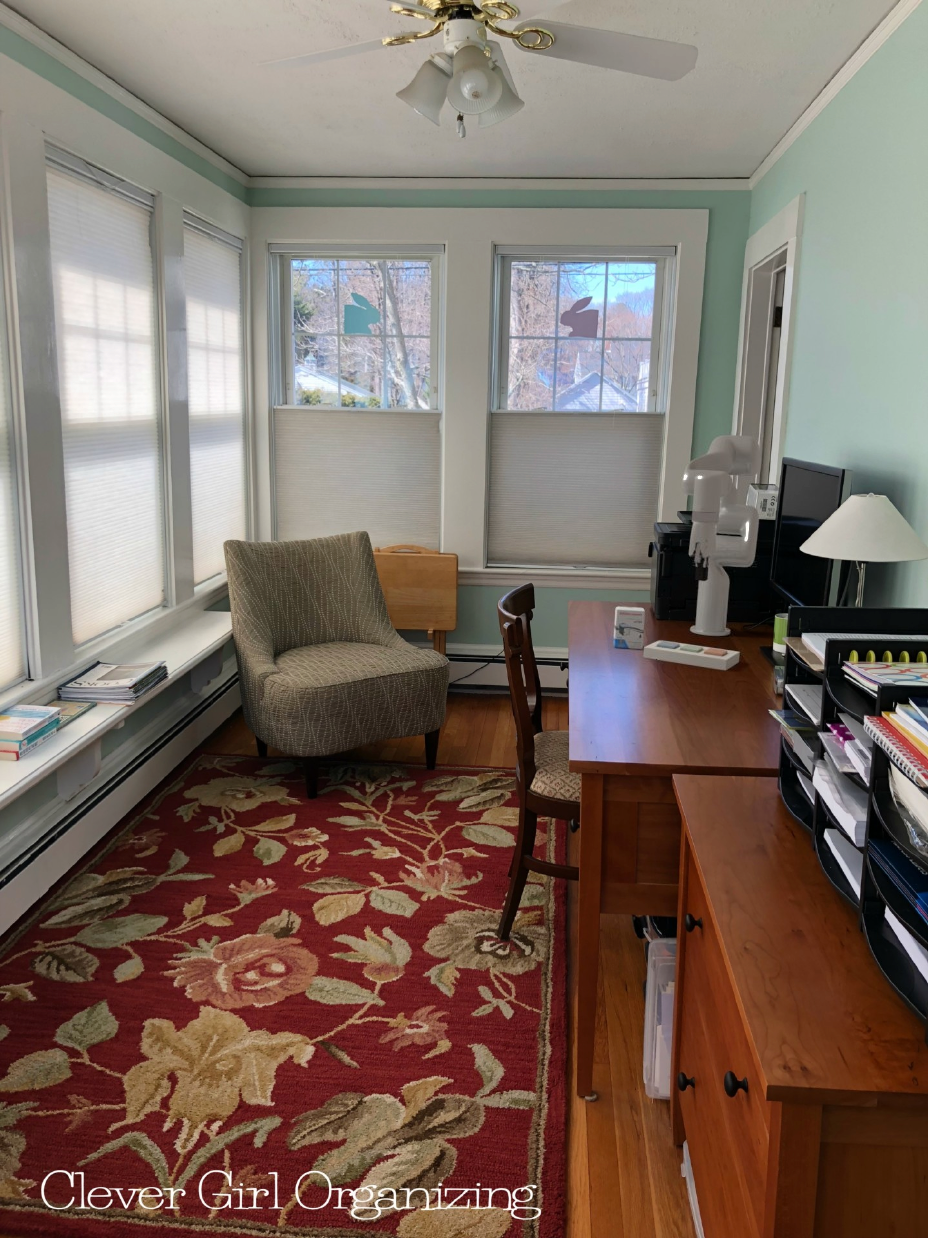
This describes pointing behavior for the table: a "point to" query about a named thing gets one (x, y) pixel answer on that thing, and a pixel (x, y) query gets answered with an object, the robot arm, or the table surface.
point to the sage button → (691, 648)
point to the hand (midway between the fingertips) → (701, 579)
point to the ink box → (629, 627)
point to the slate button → (668, 645)
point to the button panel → (691, 656)
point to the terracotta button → (715, 652)
